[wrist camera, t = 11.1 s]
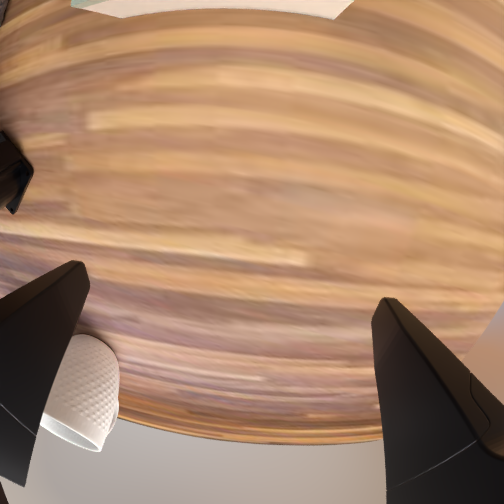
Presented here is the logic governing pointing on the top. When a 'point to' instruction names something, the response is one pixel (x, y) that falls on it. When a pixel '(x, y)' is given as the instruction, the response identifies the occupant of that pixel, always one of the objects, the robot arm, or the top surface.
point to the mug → (84, 394)
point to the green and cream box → (212, 6)
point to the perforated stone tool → (2, 9)
